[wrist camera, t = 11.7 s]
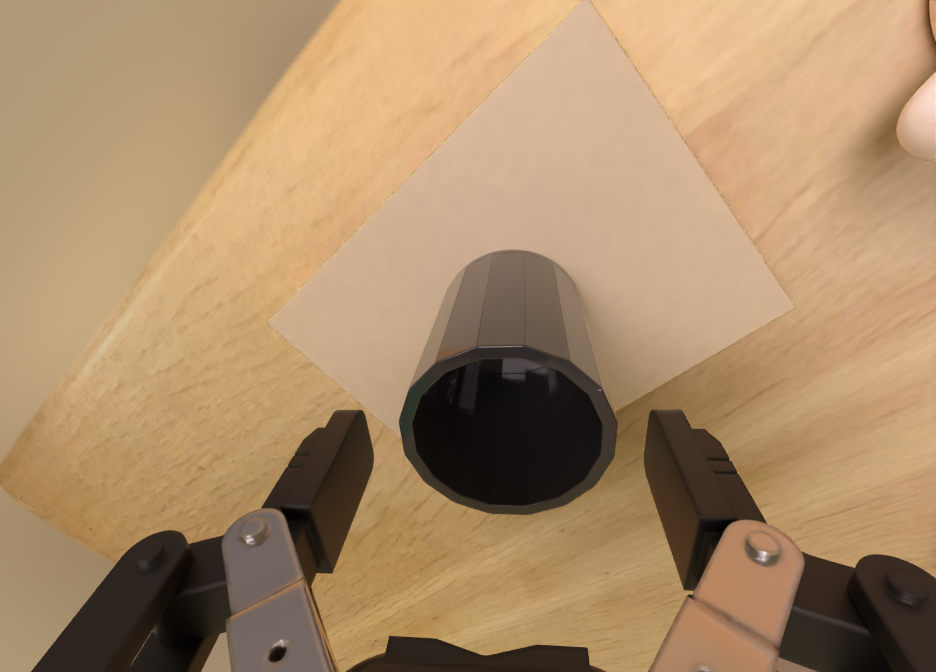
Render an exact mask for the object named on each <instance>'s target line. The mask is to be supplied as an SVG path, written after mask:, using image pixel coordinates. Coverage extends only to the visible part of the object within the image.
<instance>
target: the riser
mask: <svg viewBox="0 0 936 672" xmlns="http://www.w3.org/2000/svg"><path fill="white" fill-rule="evenodd" d="M502 250H523V251H529V252H533V253H537V254H539V255H542V256H544V257H547V258H548V259H550V260H552V261H553V262H555V263H556V264H558V265H559V266H560V267H561V268H563V269H564V270H565V271H566V273H567V274H568V275H569V276H570V277H571V279H572V280H573V281H574V283H575V285H576V287H577V289H578V291H579V294H580V297H581V299H582V302H583V304H584V307H585V310H586V314H587V317H588V321H589V324H590V328H591V331H592V335H593V338H594V342H595V345H596V349H597V352H598V356H599V359H600V363H601V366H602V369H603V373H604V376H605V380H606V383H607V387H608V390H609V394H610V397H611V401H612V404H613V408H614V411H615V412H616V411H618V410H620V409H621V408H623V407H625V406H627V405H628V404H630V403H632V402H634V401H635V400H637V399H639V398H640V397H642V396H644V395H646V394H647V393H649V392H651V391H653V390H654V389H656V388H658V387H659V386H661V385H663V384H665V383H666V382H668V381H670V380H672V379H673V378H675V377H677V376H679V375H680V374H682V373H684V372H685V371H687V370H689V369H691V368H692V367H694V366H696V365H698V364H699V363H701V362H703V361H704V360H706V359H708V358H710V357H711V356H713V355H715V354H717V353H718V352H720V351H722V350H723V349H725V348H727V347H729V346H730V345H732V344H734V343H736V342H737V341H739V340H741V339H742V338H744V337H746V336H748V335H749V334H751V333H753V332H755V331H756V330H758V329H760V328H762V327H763V326H765V325H767V324H768V323H770V322H772V321H774V320H775V319H777V318H779V317H781V316H782V315H784V314H786V313H787V312H789V311H791V310H793V309H794V308H795V305H794V303H793V302H792V300H791V299H790V297H789V296H788V294H787V293H786V291H785V290H784V289H783V287H782V286H781V284H780V283H779V281H778V280H777V278H776V277H775V275H774V274H773V272H772V271H771V269H770V268H769V266H768V265H767V263H766V262H765V260H764V259H763V257H762V256H761V254H760V253H759V251H758V250H757V248H756V247H755V245H754V244H753V242H752V241H751V239H750V238H749V236H748V235H747V233H746V232H745V230H744V229H743V227H742V226H741V224H740V223H739V221H738V220H737V218H736V217H735V215H734V214H733V212H732V211H731V209H730V208H729V206H728V205H727V203H726V202H725V200H724V199H723V197H722V196H721V194H720V193H719V191H718V190H717V188H716V187H715V185H714V184H713V182H712V181H711V179H710V178H709V176H708V175H707V173H706V172H705V171H704V169H703V168H702V166H701V165H700V163H699V162H698V160H697V159H696V157H695V156H694V154H693V153H692V151H691V150H690V148H689V147H688V145H687V144H686V142H685V141H684V139H683V138H682V136H681V135H680V133H679V132H678V130H677V129H676V127H675V126H674V124H673V123H672V121H671V120H670V118H669V117H668V115H667V114H666V112H665V111H664V109H663V108H662V106H661V105H660V103H659V102H658V100H657V99H656V97H655V96H654V94H653V93H652V91H651V90H650V88H649V87H648V85H647V84H646V82H645V81H644V79H643V78H642V76H641V75H640V73H639V72H638V70H637V69H636V67H635V66H634V64H633V63H632V61H631V60H630V58H629V57H628V55H627V54H626V53H625V51H624V50H623V48H622V47H621V45H620V44H619V42H618V41H617V39H616V38H615V36H614V35H613V33H612V32H611V30H610V29H609V27H608V26H607V24H606V23H605V21H604V20H603V18H602V17H601V15H600V14H599V12H598V11H597V9H596V8H595V6H594V5H593V3H592V2H591V0H582V1H581V2H580V3H579V4H578V5H577V6H576V7H575V8H574V9H573V10H572V11H571V12H570V13H569V14H568V15H567V16H566V17H565V18H564V19H563V20H562V21H561V22H560V23H559V24H558V25H557V26H556V27H555V28H554V29H553V30H552V31H551V32H550V33H549V34H548V36H547V37H546V38H545V39H544V40H543V41H542V42H541V43H540V44H539V45H538V46H537V47H536V48H535V49H534V50H533V51H532V52H531V53H530V54H529V55H528V56H527V57H526V58H525V59H524V60H523V61H522V62H521V63H520V64H519V65H518V66H517V67H516V68H515V69H514V70H513V71H512V72H511V73H510V74H509V75H508V76H507V77H506V78H505V79H504V80H503V81H502V82H501V83H500V84H499V86H498V87H497V88H496V89H495V90H494V91H493V92H492V93H491V94H490V95H489V96H488V97H487V98H486V99H485V100H484V101H483V102H482V103H481V104H480V105H479V106H478V107H477V108H476V109H475V110H474V111H473V112H472V113H471V114H470V115H469V116H468V117H467V118H466V119H465V120H464V121H463V122H462V123H461V124H460V125H459V126H458V127H457V128H456V129H455V130H454V131H453V132H452V133H451V134H450V136H449V137H448V138H447V139H446V140H445V141H444V142H443V143H442V144H441V145H440V146H439V147H438V148H437V149H436V150H435V151H434V152H433V153H432V154H431V155H430V156H429V157H428V158H427V159H426V160H425V161H424V162H423V163H422V164H421V165H420V166H419V167H418V168H417V169H416V170H415V171H414V172H413V173H412V174H411V175H410V176H409V177H408V178H407V179H406V180H405V181H404V182H403V183H402V185H401V186H400V187H399V188H398V189H397V190H396V191H395V192H394V193H393V194H392V195H391V196H390V197H389V198H388V199H387V200H386V201H385V202H384V203H383V204H382V205H381V206H380V207H379V208H378V209H377V210H376V211H375V212H374V213H373V214H372V215H371V216H370V217H369V218H368V219H367V220H366V221H365V222H364V223H363V224H362V225H361V226H360V227H359V228H358V229H357V230H356V231H355V232H354V233H353V235H352V236H351V237H350V238H349V239H348V240H347V241H346V242H345V243H344V244H343V245H342V246H341V247H340V248H339V249H338V250H337V251H336V252H335V253H334V254H333V255H332V256H331V257H330V258H329V259H328V260H327V261H326V262H325V263H324V264H323V265H322V266H321V267H320V268H319V269H318V270H317V271H316V272H315V273H314V274H313V275H312V276H311V277H310V278H309V279H308V280H307V281H306V282H305V284H304V285H303V286H302V287H301V288H300V289H299V290H298V291H297V292H296V293H295V294H294V295H293V296H292V297H291V298H290V299H289V300H288V301H287V302H286V303H285V304H284V305H283V306H282V307H281V308H280V309H279V310H278V311H277V312H276V313H275V314H274V315H273V316H272V317H271V318H270V319H269V320H268V321H267V324H268V325H270V326H271V327H272V328H273V329H274V330H275V331H276V332H278V333H279V334H280V335H281V336H282V337H283V338H285V339H286V340H287V341H288V342H289V343H290V344H291V345H293V346H294V347H295V348H296V349H297V350H298V351H300V352H301V353H302V354H303V355H304V356H305V357H306V358H308V359H309V360H310V361H311V362H312V363H313V364H315V365H316V366H317V367H318V368H319V369H320V370H321V371H323V372H324V373H325V374H326V375H327V376H328V377H330V378H331V379H332V380H333V381H334V382H335V383H336V384H338V385H339V386H340V387H341V388H342V389H343V390H345V391H346V392H347V393H348V394H349V395H350V396H351V397H353V398H354V399H355V400H356V401H357V402H358V403H360V404H361V405H362V406H363V407H364V408H365V409H366V410H368V411H369V412H370V413H371V414H372V415H373V416H375V417H376V418H377V419H378V420H379V421H380V422H381V423H383V424H384V425H385V426H386V427H387V428H388V429H390V430H391V431H392V432H393V433H394V434H395V435H396V436H398V437H399V438H400V439H401V440H402V438H401V433H400V427H399V417H400V414H401V411H402V408H403V405H404V402H405V398H406V395H407V392H408V389H409V387H410V384H411V381H412V379H413V376H414V374H415V371H416V369H417V366H418V363H419V361H420V358H421V356H422V353H423V351H424V348H425V345H426V343H427V340H428V338H429V335H430V332H431V330H432V327H433V325H434V322H435V320H436V317H437V314H438V312H439V309H440V307H441V304H442V301H443V299H444V296H445V294H446V291H447V289H448V287H449V285H450V284H451V283H452V281H453V279H454V278H455V277H456V275H457V274H458V273H459V272H460V271H461V270H462V269H463V268H464V267H465V266H466V265H468V264H469V263H471V262H472V261H473V260H475V259H477V258H479V257H481V256H483V255H486V254H489V253H492V252H496V251H502Z"/></svg>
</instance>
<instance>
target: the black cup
mask: <svg viewBox="0 0 936 672" xmlns="http://www.w3.org/2000/svg"><path fill="white" fill-rule="evenodd" d="M617 425H618V423H617V418H616V415H615V411H614V408H613V404H612V401H611V397H610V394H609V390H608V387H607V383H606V380H605V376H604V373H603V369H602V366H601V363H600V359H599V356H598V352H597V349H596V345H595V342H594V338H593V335H592V331H591V328H590V324H589V321H588V317H587V314H586V310H585V307H584V304H583V302H582V299H581V297H580V294H579V291H578V289H577V287H576V285H575V283H574V281H573V280H572V279H571V277H570V276H569V275H568V274H567V273H566V271H565V270H564V269H563V268H561V267H560V266H559V265H558V264H556V263H555V262H553V261H552V260H550V259H548V258H547V257H544V256H542V255H539V254H537V253H533V252H529V251H523V250H502V251H496V252H492V253H489V254H486V255H483V256H481V257H479V258H477V259H475V260H473V261H472V262H471V263H469V264H468V265H466V266H465V267H464V268H463V269H462V270H461V271H460V272H459V273H458V274H457V275H456V277H455V278H454V279H453V281H452V283H451V284H450V285H449V287H448V289H447V291H446V294H445V296H444V299H443V301H442V304H441V307H440V309H439V312H438V314H437V317H436V320H435V322H434V325H433V327H432V330H431V332H430V335H429V338H428V340H427V343H426V345H425V348H424V351H423V353H422V356H421V358H420V361H419V363H418V366H417V369H416V371H415V374H414V376H413V379H412V381H411V384H410V387H409V389H408V392H407V395H406V398H405V402H404V405H403V408H402V411H401V414H400V417H399V427H400V433H401V438H402V443H403V449H404V453H405V455H406V457H407V458H408V460H409V461H410V462H411V464H412V465H413V467H414V468H415V470H416V471H417V472H418V474H419V475H420V477H421V478H422V479H423V481H425V483H427V484H428V485H429V486H431V487H432V488H434V489H435V490H437V491H438V492H440V493H441V494H443V495H444V496H446V497H447V498H448V499H450V500H451V501H453V502H455V503H457V504H461V505H464V506H467V507H470V508H473V509H477V510H480V511H483V512H486V513H491V514H511V515H528V514H529V515H531V514H535V513H539V512H542V511H546V510H550V509H554V508H558V507H562V506H565V505H567V504H568V503H570V502H572V501H573V500H575V499H576V498H578V497H579V496H581V495H582V494H584V493H585V492H587V491H588V490H590V489H591V488H593V487H594V486H595V485H596V484H597V483H598V481H599V480H600V478H601V477H602V475H603V474H604V472H605V471H606V469H607V467H608V466H609V464H610V463H611V461H612V460H613V458H614V456H615V447H616V436H617Z"/></svg>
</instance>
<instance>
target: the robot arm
mask: <svg viewBox="0 0 936 672" xmlns="http://www.w3.org/2000/svg"><path fill="white" fill-rule="evenodd" d="M373 462H374V453H373V447H372V443H371V439H370V434H369V430H368V426H367V421H366V417H365V414H364V412H363V411H362V410H337V411H335V412H334V413H333V415H332V417H331V418H330V420H329V422H328V424H327V425H326V427H325V428H317V429H316V430H315V431H313V432H312V433H311V434H310V435H309V436H307V437H306V438H305V439H304V440H303V442H302V443H301V445H300V446H299V448H298V450H297V451H296V453H295V456H293V458H292V459H291V461H290V462H289V464H288V467H286V469H285V471H284V472H283V474H282V475H281V477H280V479H279V480H278V482H277V483H276V485H275V487H274V488H273V490H272V492H271V493H270V495H269V496H268V498H267V500H266V501H265V503H264V504H263V506H262V508H261V509H258V510H255V511H252V512H250V513H248V514H246V515H244V516H242V517H241V518H239V519H238V520H237V521H235V522H234V523H233V524H232V525H231V526H230V527H229V529H228V530H227V531H226V533H225V535H223V536H219V537H215V538H211V539H207V540H203V541H199V542H195V543H191V544H188V542H187V540H186V538H185V537H184V535H183V534H182V533H180V532H178V531H172V530H169V531H162V532H158V533H155V534H153V535H150V536H148V537H146V538H144V539H143V540H141V541H139V542H138V543H136V544H135V545H134V546H133V547H131V548H130V549H129V550H128V551H127V552H126V553H125V554H124V555H123V556H122V557H121V559H120V560H119V561H118V562H117V564H116V565H115V566H114V568H113V569H112V570H111V571H110V573H109V574H108V575H107V576H106V578H105V579H104V580H103V581H102V583H101V584H100V585H99V586H98V588H97V589H96V590H95V592H94V593H93V594H92V596H91V597H90V598H89V599H88V601H87V602H86V603H85V604H84V605H83V607H82V608H81V609H80V610H79V612H78V613H77V614H76V616H75V617H74V618H73V619H72V621H71V622H70V623H69V624H68V626H67V627H66V628H65V630H64V631H63V632H62V633H61V635H60V636H59V637H58V638H57V640H56V641H55V642H54V644H53V645H52V646H51V647H50V648H49V650H48V651H47V652H46V654H45V655H44V656H43V658H42V659H41V660H40V661H39V662H38V664H37V665H36V666H35V667H34V669H33V670H32V671H31V672H201V671H202V668H203V666H204V664H205V662H206V660H207V658H208V656H209V654H210V652H211V650H212V648H213V646H214V644H215V642H216V640H217V638H218V636H219V634H220V633H224V632H226V633H227V641H228V649H229V656H230V664H231V672H340V671H339V668H338V665H337V663H336V660H335V657H334V654H333V651H332V648H331V645H330V642H329V639H328V636H327V633H326V630H325V627H324V624H323V620H322V617H321V614H320V611H319V608H318V605H317V602H316V599H315V596H314V593H313V590H312V587H311V585H312V583H313V580H314V578H315V575H316V573H330V574H332V573H333V570H334V568H335V565H336V563H337V560H338V558H339V555H340V552H341V550H342V547H343V545H344V542H345V540H346V537H347V534H348V532H349V529H350V527H351V524H352V521H353V519H354V516H355V514H356V511H357V509H358V506H359V503H360V501H361V498H362V496H363V493H364V491H365V488H366V485H367V483H368V480H369V478H370V475H371V472H372V469H373ZM644 466H645V473H646V477H647V480H648V483H649V486H650V489H651V492H652V495H653V498H654V501H655V504H656V507H657V510H658V513H659V516H660V519H661V522H662V525H663V528H664V531H665V534H666V537H667V540H668V543H669V546H670V549H671V552H672V555H673V558H674V561H675V564H676V567H677V570H678V573H679V576H680V580H681V583H682V586H683V589H684V590H692V591H694V593H693V594H692V595H690V594H689V595H688V596H687V597H686V599H685V601H684V602H683V604H682V606H681V608H680V610H679V612H678V614H677V616H676V618H675V620H674V622H673V624H672V626H671V628H670V630H669V631H668V633H667V635H666V637H665V639H664V641H663V643H662V645H661V647H660V649H659V651H658V653H657V655H656V657H655V659H654V661H653V663H652V665H651V667H650V669H649V671H648V672H774V671H775V667H776V664H777V661H778V657H779V658H781V659H784V660H787V661H790V662H792V663H795V664H798V665H800V666H803V667H806V668H809V669H811V670H814V671H817V672H936V579H935V578H934V577H933V576H931V575H930V574H929V573H927V572H926V571H924V570H923V569H921V568H919V567H917V566H915V565H913V564H911V563H909V562H907V561H905V560H902V559H899V558H896V557H892V556H887V555H868V556H865V557H863V558H862V559H860V560H859V562H858V563H857V565H856V567H855V568H853V567H849V566H846V565H842V564H838V563H835V562H831V561H828V560H824V559H821V558H817V557H814V556H811V555H808V554H806V553H804V552H801V551H800V549H799V547H798V546H797V545H796V543H795V542H794V541H793V540H792V539H791V538H790V537H788V536H787V535H786V534H785V533H783V532H782V531H780V530H779V529H777V528H775V527H773V526H771V525H768V524H767V523H766V521H765V519H764V517H763V516H762V514H761V512H760V510H759V509H758V507H757V505H756V504H755V502H754V500H753V498H752V497H751V495H750V493H749V491H748V490H747V488H746V486H745V484H744V483H743V481H742V479H741V477H740V476H739V474H737V470H736V469H735V467H734V465H733V463H732V462H731V461H730V460H729V457H728V455H727V453H726V451H725V450H724V448H723V446H722V444H721V443H720V442H719V441H718V440H717V439H716V438H714V437H713V436H712V435H711V434H710V433H708V432H707V431H706V430H705V429H692V428H691V426H690V424H689V422H688V420H687V418H686V416H685V414H684V413H683V411H682V410H651V411H650V414H649V420H648V428H647V436H646V443H645V451H644ZM151 631H152V633H151ZM150 633H151V634H150ZM149 634H150V636H149ZM148 636H149V638H148ZM147 638H148V639H147ZM146 639H147V641H146ZM145 641H146V642H145ZM144 643H145V644H144ZM143 644H144V646H143ZM142 646H143V648H142V649H141V647H142ZM140 649H141V651H140ZM139 651H140V652H139ZM138 652H139V654H138ZM137 654H138V655H137ZM136 655H137V657H136ZM135 657H136V659H135ZM134 659H135V660H134ZM133 660H134V662H133ZM132 662H133V663H132ZM131 664H132V665H131ZM346 672H606V671H604V670H602V669H599V668H597V667H594V666H591V665H590V664H589V655H588V648H584V647H567V646H550V645H533V646H529V647H524V648H520V649H516V650H511V651H507V652H502V653H498V654H493V655H488V656H485V655H480V654H477V653H474V652H471V651H469V650H466V649H463V648H460V647H458V646H455V645H452V644H449V643H447V642H444V641H441V640H438V639H432V638H415V637H398V636H389V640H388V644H387V648H386V652H385V653H383V654H379V655H376V656H374V657H371V658H368V659H366V660H364V661H362V662H360V663H358V664H356V665H355V666H353V667H352V668H350V669H349V670H347V671H346Z"/></svg>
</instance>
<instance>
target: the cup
mask: <svg viewBox="0 0 936 672" xmlns="http://www.w3.org/2000/svg"><path fill="white" fill-rule="evenodd" d="M929 13H930V21H931V27H932V31H933V35H934V38H935V41H936V0H929ZM896 134H897V138H898V141H899V143H900V145H901V146H902V147H903V148H904V149H905V150H906V151H908V152H909V153H911V154H912V155H914V156H916V157H918V158H920V159H924V160H927V161H931V162H936V72H935V73H934V74H933V75H932V76H931V77H930V78H928V79H927V81H926V82H925V83H924V84H923V85H922V86H921V87H920V88H919V89H918V90H917V91H916V92H915V94H914V95H913V96H912V97H911V98H910V99H909V101H908V102H907V103H906V105H905V106H904V108H903V110H902V111H901V113H900V116H899V119H898V122H897V126H896Z"/></svg>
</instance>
